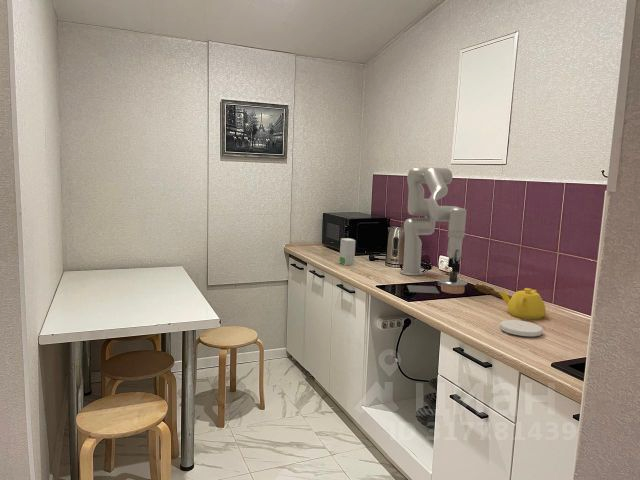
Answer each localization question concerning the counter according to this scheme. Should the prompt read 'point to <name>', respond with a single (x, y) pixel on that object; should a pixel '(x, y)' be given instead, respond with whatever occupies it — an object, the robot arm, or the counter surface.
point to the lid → (453, 280)
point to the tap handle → (488, 290)
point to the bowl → (452, 289)
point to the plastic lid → (520, 328)
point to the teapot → (525, 304)
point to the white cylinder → (347, 251)
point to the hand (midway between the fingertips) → (453, 269)
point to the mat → (422, 289)
